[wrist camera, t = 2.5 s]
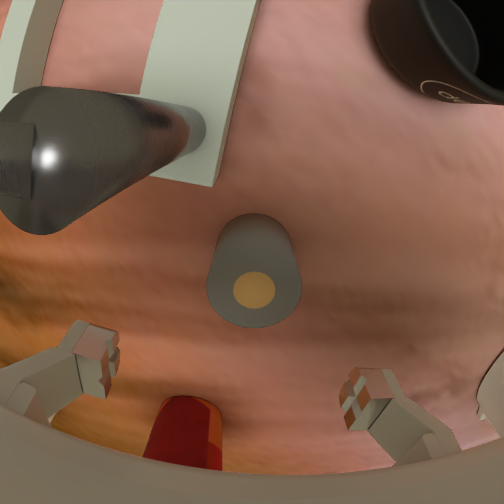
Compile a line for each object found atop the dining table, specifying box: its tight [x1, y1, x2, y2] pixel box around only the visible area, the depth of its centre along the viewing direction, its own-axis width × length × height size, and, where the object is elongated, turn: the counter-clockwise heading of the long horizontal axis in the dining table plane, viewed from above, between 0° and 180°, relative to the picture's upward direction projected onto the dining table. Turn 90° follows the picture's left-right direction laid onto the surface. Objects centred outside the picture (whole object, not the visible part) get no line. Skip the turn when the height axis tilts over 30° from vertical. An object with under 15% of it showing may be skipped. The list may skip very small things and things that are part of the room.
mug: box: [371, 0, 504, 105], centre depth 10 cm, size 12×9×7 cm
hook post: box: [0, 86, 206, 235], centre depth 10 cm, size 8×2×15 cm, turn 77°
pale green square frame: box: [0, 0, 261, 187], centre depth 12 cm, size 16×18×3 cm
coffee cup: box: [143, 396, 222, 471], centre depth 20 cm, size 8×8×15 cm
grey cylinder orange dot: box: [206, 214, 302, 328], centre depth 17 cm, size 5×5×5 cm
